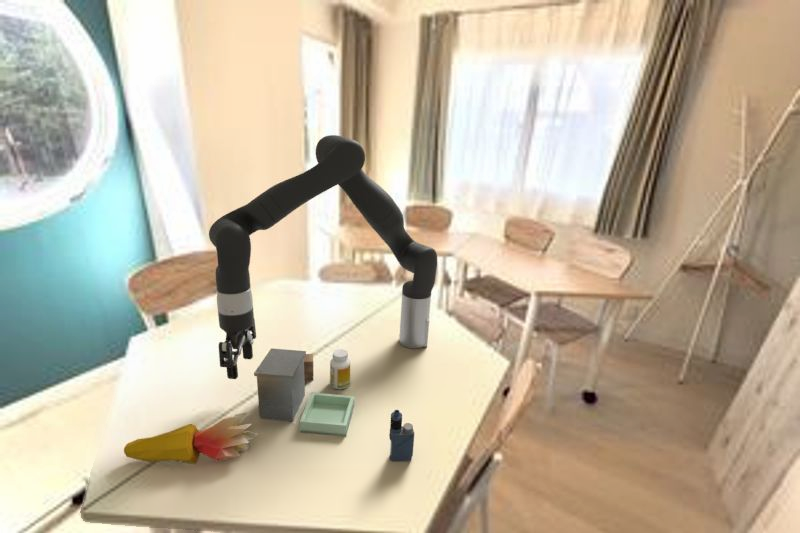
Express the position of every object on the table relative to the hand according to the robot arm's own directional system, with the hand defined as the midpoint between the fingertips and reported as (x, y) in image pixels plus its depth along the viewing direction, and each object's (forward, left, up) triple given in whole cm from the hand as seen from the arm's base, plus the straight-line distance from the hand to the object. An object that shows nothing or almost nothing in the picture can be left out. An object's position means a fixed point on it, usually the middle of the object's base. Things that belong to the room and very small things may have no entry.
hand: (240, 367), depth 99 cm
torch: (+3, +17, -10) cm, 20 cm away
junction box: (-10, 0, -10) cm, 14 cm away
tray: (-22, +3, -10) cm, 24 cm away
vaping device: (-40, +13, -10) cm, 43 cm away
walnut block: (-12, -13, -10) cm, 20 cm away
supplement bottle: (-22, -11, -10) cm, 27 cm away
